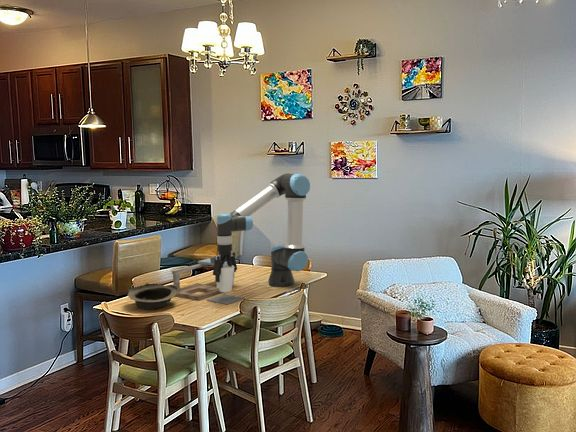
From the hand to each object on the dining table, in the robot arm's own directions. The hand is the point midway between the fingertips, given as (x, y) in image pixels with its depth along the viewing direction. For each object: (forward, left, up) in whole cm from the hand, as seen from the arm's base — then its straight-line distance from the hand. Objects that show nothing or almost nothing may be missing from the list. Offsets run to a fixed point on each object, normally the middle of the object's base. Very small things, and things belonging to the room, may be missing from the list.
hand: (225, 285), depth 286 cm
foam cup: (0, 0, -3) cm, 3 cm away
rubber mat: (0, 0, -7) cm, 7 cm away
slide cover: (+22, -20, +6) cm, 31 cm away
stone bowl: (+24, +28, -8) cm, 38 cm away
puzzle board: (+22, -11, -7) cm, 25 cm away
